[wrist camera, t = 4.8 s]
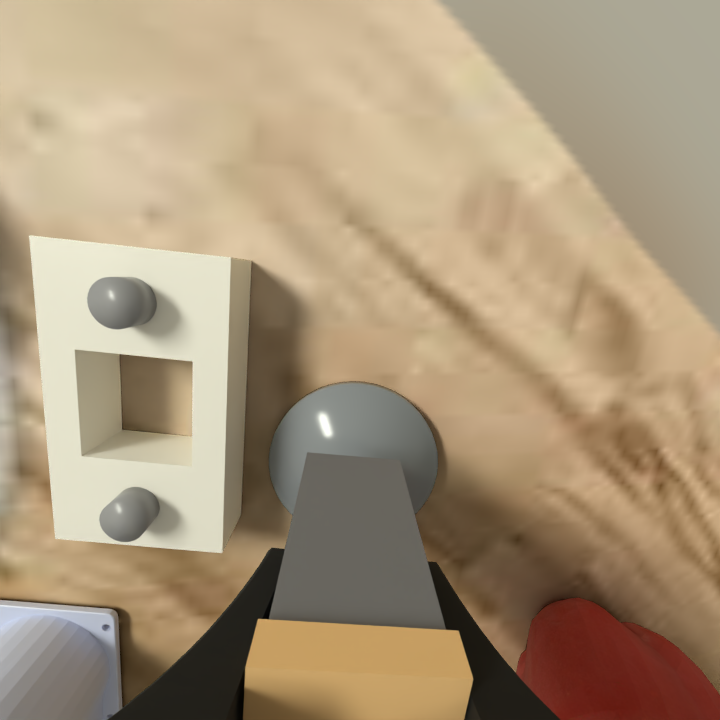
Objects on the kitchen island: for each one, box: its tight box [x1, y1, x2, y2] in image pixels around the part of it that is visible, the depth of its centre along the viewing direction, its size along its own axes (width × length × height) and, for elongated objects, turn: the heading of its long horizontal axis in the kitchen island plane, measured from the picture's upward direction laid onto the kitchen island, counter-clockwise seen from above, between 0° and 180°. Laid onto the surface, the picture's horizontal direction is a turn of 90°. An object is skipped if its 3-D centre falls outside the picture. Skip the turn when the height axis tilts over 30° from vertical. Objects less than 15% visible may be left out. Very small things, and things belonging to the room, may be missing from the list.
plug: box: [243, 452, 473, 720], centre depth 12 cm, size 4×4×9 cm
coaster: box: [269, 381, 438, 515], centre depth 20 cm, size 9×9×1 cm
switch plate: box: [29, 235, 252, 553], centre depth 17 cm, size 14×8×4 cm, turn 174°
